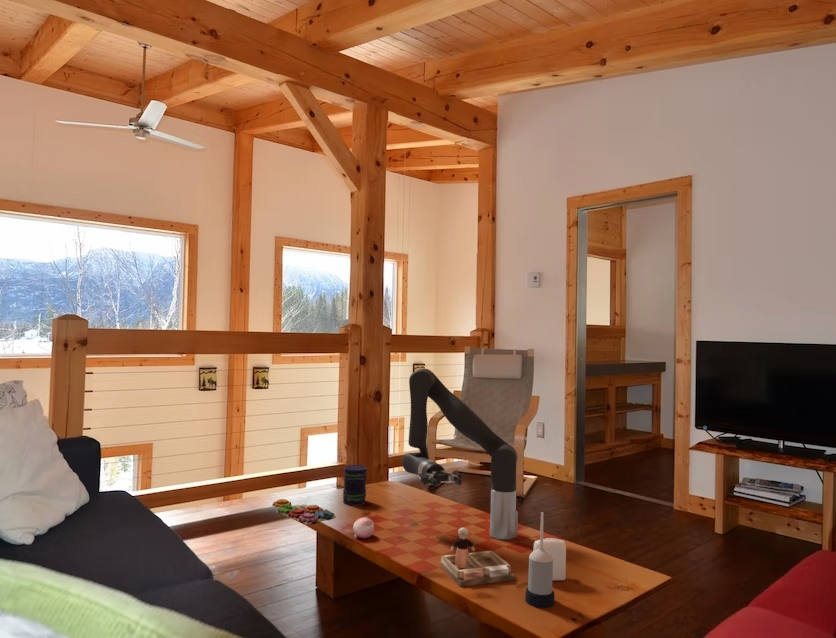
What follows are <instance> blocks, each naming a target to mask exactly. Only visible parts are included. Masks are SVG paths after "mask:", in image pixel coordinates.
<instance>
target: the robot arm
mask: <svg viewBox="0 0 836 638" xmlns="http://www.w3.org/2000/svg"><path fill="white" fill-rule="evenodd" d="M408 384H409V396H410V416H409V417H410V418H409V428H408V429H409V431H408V433H409V434H408V445H409V447H412V448H415V449H418V450H419V452H407V453H406V454H404V455H403V456H402V459H401V466H402V468H403V470H404V471H405V472H407V473H408V474H413V475H418V481H419V482H420V483H421V484H422V485H427V484H428V485H429V486H433V487H434V488H437V487H438V485H440V484H441V483H447V484H451V483H455V484H456V485H458V486H461V485H462V483H463V474H462V473H460V472H458V471H456V470H452V472H450V471H446V469H445V468H444V467H443V466H442V465H441V464H439V463H437V462H436V461H435V460H434V461H433V460H432V459H430V455H429V451H428V444H427V443H428V442H427V441H428V426H429V425H428V414H427V407H428V406H427V405H428V398H429V399H430V400H432V402H434V403H435V404H436V405H437V407H438V408H439V410H440V411H441V413H442V415H444V417H445V419H447V421H448V422H449V423H450V425H452V427H454V428H455V429H456V430H457V431H458V432H459V433H460V434H462V435H463V436H464V437H466V438H467V439H469V440H470V441H472V442H474V443H476V444H477V445H479V447H481V448H482V449H483V450H484V451H485V452H486V453H487V454H488V455H489V456H490V457H491V458H490V513H489V514H490V517H489V519H490V522H489V535H490V537H491V538H494V539H497V540H512V539H514V538H518V517H519V516H518V515H519V513H518V511H517V510H516V506H517V461H518V453H517V450H516V449H515V448H514V447H513V446H512V445H511V444H509V443H508V442H506V441H505V440H504V439H503V438H501V437H500V436H499V435H497V433H495V432H494V431H493V430H492V429H491V428H490V427H489V426H488V425H487V424H486V423H485V421H483V420H482V418H481V417H480V416H479V415H478V414H477V413H476V412H474V411H473V410H472V408H470V407H469V406H468V405H467V404H466V403H464V402H463V401H462V400H461V399H460V398H459V397H458V396H456V395H455V394H454V393H453V392H452V391H450V390H449V389H448V388H447V387H446V385H444V384H443V383H442V381H441V380H440V379H439V378H438V377H437V376H436V374H435V373H434V372H433V371H431V370H430V369H428V368H420V369H417V370H415V371H413V372H412V373H411V375H410V376H409V379H408Z"/></svg>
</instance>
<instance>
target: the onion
mask: <svg viewBox="0 0 836 638" xmlns="http://www.w3.org/2000/svg"><path fill="white" fill-rule="evenodd" d="M352 530H353V532H354V535H353V536H354V537H355V538H356V539H357V540H358V539H359V538H360V539H368V538H372V536H373V533H374V531H375V523H374V521H373V520H372V519H371V518H369V517H367V516H363V517H360V518H358V519H356V521H354V524H353V527H352Z"/></svg>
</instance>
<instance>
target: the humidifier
mask: <svg viewBox="0 0 836 638" xmlns="http://www.w3.org/2000/svg"><path fill="white" fill-rule="evenodd" d="M539 528H540V530H539V540H540V547H539V548H538V549H536V550H534V551H532V552H531V553H529V557H528V578H527V579H528V580H527V581H528V582H527V583H528V585H527V587H526V588H525V597H524V598H525V602H526V604H527V605H528V606H531V607H535V608H537V609H539V608H541V609H548V608H551V607H553V606H554V605H555V591H554V590H553V580H552V579H553V558H552V556H551V555H550V553H549V552H548V551H546V550H544V548H543V539H544V512H540V527H539Z"/></svg>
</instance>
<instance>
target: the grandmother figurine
mask: <svg viewBox="0 0 836 638" xmlns="http://www.w3.org/2000/svg"><path fill="white" fill-rule="evenodd" d="M457 533H458V537H459V538H457V539H456V540H455V541H454V542H453V543H452V544H451V548H450V549H449V551H450V552H453V551H454V550H455V549H456V551H455V554H456V559H455V565H456V566H455V567H456V568H458V569H460V567H461V568H462V569H463V570H464V569H468V567H467V562H468V553H469V549H468V547H469V548H470V549H471V551H472V552H476V548H475V546H474V543H473V542H472V541H471V540H470V539H468V538H467V537H468V536H469V534H470V533H469V530H468V529H467V528H466V527H460V528H459V529H458V530H457Z"/></svg>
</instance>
